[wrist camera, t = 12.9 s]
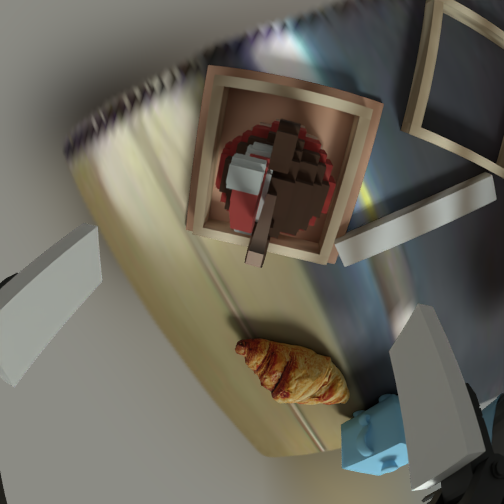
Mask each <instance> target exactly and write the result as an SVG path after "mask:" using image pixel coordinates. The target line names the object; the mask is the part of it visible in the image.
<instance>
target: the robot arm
mask: <svg viewBox="0 0 504 504" xmlns="http://www.w3.org/2000/svg"><path fill="white" fill-rule="evenodd" d="M101 282H102V274H101V263H100V253H99V240H98V226H94V225H90V224H86V223H83V224H81V225H80V226H78V227H77V228H76V229H74V230H73V231H72V232H70V233H69V234H67V235H66V236H65V237H63V238H62V239H61V240H59V241H58V242H57V243H56V244H54V245H53V246H52V247H50V248H49V249H48V250H46V251H45V252H44V253H43V254H41V255H40V256H39V257H38V258H36V259H35V260H34V261H33V262H31V263H30V264H29V265H28V266H26V267H25V268H24V269H23V270H22V271H21V272H19V273H16V274H14V275H12V276H10V277H8V278H6V279H5V280H3V281H2V282H1V283H0V378H2V379H3V380H4V381H6V382H7V383H8V384H10V385H11V386H13V387H15V386H16V384H17V383H18V382H19V381H20V379H21V378H22V376H23V375H24V374H25V372H26V371H27V370H28V369H29V367H30V366H31V365H32V363H33V362H34V361H35V359H36V358H37V357H38V355H39V354H40V353H41V352H42V351H43V349H44V348H45V347H46V346H47V344H48V343H49V342H50V341H51V339H52V338H53V337H54V336H55V335H56V333H57V332H58V331H59V330H60V328H61V327H62V326H63V325H64V324H65V323H66V321H67V320H68V319H69V318H70V317H71V316H72V315H73V313H74V312H75V311H76V310H77V309H78V308H79V307H80V305H81V304H82V303H83V302H84V301H85V300H86V299H87V298H88V297H89V295H90V294H91V293H92V292H93V291H94V290H95V289H96V288H97V287H98V286H99V284H100V283H101ZM389 354H390V358H391V363H392V367H393V372H394V377H395V381H396V386H397V391H398V397H399V402H400V407H401V413H402V419H403V425H404V432H405V439H406V446H407V453H408V462H409V471H410V480H411V491H413V490H421V489H429V488H431V487H432V486H434V485H436V484H437V483H439V482H441V487H442V488H440V489H438V490H437V491H435V492H433V493H431V494H429V495H427V496H426V497H425V498H424V499H423V500H422V501H423V502H425V501H427V500H429V499H431V498H432V500H431V501H430V502H428V503H427V504H504V393H501V394H500V395H499V396H498V397H497V399H496V400H494V401H493V402H492V403H491V404H489V405H488V406H487V407H486V408H484V409H483V410H482V411H481V408H479V406H480V405H479V402H478V399H477V396H476V394H475V392H474V391H473V389H472V388H471V387H470V385H469V384H468V383H465V382H464V379H463V377H462V374H461V371H460V369H459V366H458V363H457V361H456V358H455V356H454V353H453V351H452V349H451V346H450V344H449V342H448V339H447V337H446V335H445V332H444V330H443V328H442V326H441V323H440V321H439V319H438V317H437V315H436V313H435V311H434V308H433V307H432V306H427V305H422V304H418V305H417V306H416V308H415V310H414V312H413V313H412V315H411V317H410V318H409V320H408V322H407V323H406V325H405V327H404V328H403V330H402V332H401V333H400V335H399V337H398V338H397V340H396V341H395V343H394V344H393V346H392V348H391V349H390V351H389ZM0 504H7V501H6V497H5V493H4V489H3V484H2V479H1V473H0Z"/></svg>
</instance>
